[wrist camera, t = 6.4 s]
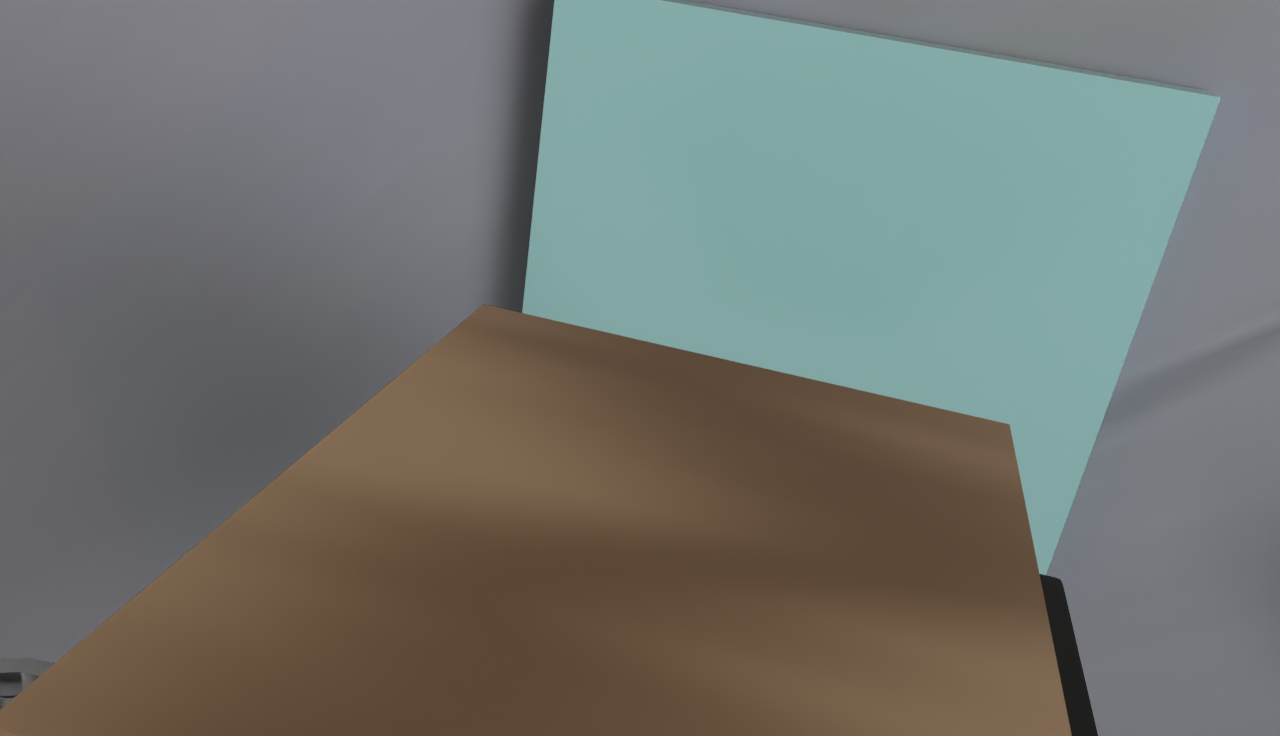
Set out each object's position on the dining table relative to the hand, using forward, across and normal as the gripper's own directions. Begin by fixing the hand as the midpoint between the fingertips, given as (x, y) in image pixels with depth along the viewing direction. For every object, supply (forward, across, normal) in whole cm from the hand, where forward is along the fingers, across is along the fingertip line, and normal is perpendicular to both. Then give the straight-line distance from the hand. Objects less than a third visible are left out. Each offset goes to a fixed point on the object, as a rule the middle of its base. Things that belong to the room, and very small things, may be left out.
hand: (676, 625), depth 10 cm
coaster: (+9, 0, 0) cm, 9 cm away
